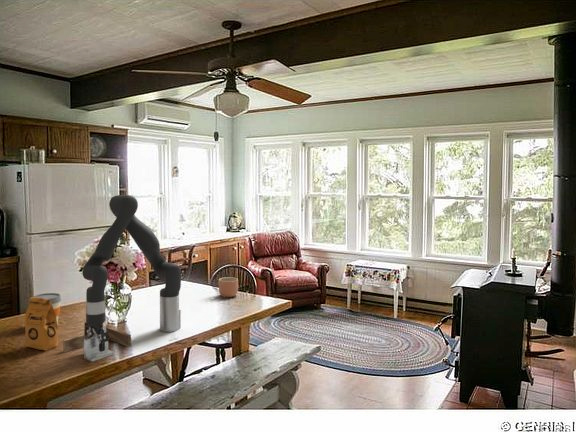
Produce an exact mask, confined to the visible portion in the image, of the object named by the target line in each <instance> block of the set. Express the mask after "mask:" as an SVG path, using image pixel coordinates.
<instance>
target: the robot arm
mask: <svg viewBox="0 0 576 432" xmlns="http://www.w3.org/2000/svg"><path fill="white" fill-rule="evenodd" d="M108 205H109V209H110V211H111V213H112V214H113V215H114V216H115V219H114V221H113V223H112V224H111V226H110V227H108V229H107V230H106V231H105V232H104V234H103V235H102V236H101V238H100V239H99V241H98V243H97V246H96V247H95V250H94V253H92V255H91V256H90V257H89V259H87V261H86V263H85V264H84V266H83V268H82V273H81V274H82V277H83V279H85V280H87V281H91V282H92V284H91V286H89V287H87V288H86V293H85V294H86V297H85V299H86V303H85V304H86V305H85V322H84V324H83V325H84V335H85V336H87V338H90V337H93V336H94V335H95V336H96V338H97V339H98V341H99V351H100V352H102V351H104V350H105V342H107V341H108V342H109V339H108V327H107V326H105V327H104V323H105V322H106V321H107V319H106V302H105V293H106V292H105V290H106V286H107V282H108V277H109V272H108V269H107V267H106V266H105V265H103V264H104V262H105V263H106V262H110V260H111V259H112V256H113V255H114V252H115V249H116V248H117V245H118V243H119V242H120V239H121V237H122V235H123V234H124V232H125V230H126V232H127V233H128V234H129V236H130V237H131V239H133V241H134V242H135V244H136V245H137V247H138V248H139V250H140V251H141V253H142V254H143V256H145V258H146V260H147V261H148V263H149V264H150V266H151V268H152V269H153V272H154V273H155V276H156V277H157V278H158V279H159V280H161V281H164V282H165V287H163V288H161V289H160V290H159V330H160V331H161V332H165V333H172V332H176V331H179V329H181V328H182V327H181V325H182V324H181V322H182V321H181V319H182V318H181V311H182V310H181V308H180V291H181V287H182V269H181V267H180V265H178V264H176V263H172V262H168V261H167V260H166V259H165V257H164V256H163V255H162V253H161V245H160V241H159V239H158V238H157V235H156V234H155V233H154V231H153V230H152V229H151V228H150V227H149V226H148V225H147V224H146V223H144V222H143V221H141V220H140V219H139V218H138V217H137V216H136V215H135V214H136V213H137V210H138V207H139V202H138V200H137V198H136V197H135V196H133V195H129V194H128V195H127V194H117V195H113V196H112V197H111V198H110V199H109V204H108ZM100 334H101V335H100ZM105 336H106V339H105ZM100 338H101V339H100Z"/></svg>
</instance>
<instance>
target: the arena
mask: <svg viewBox="0 0 576 432" xmlns="http://www.w3.org/2000/svg"><path fill="white" fill-rule="evenodd" d="M107 328H108V340H110V341H113V342H115V343H118V344H121V345H123V346H125V347H127V348H128V347H131V346H132V342H131V341H132V340H131V339H132V337H131V336H132V334H129V333H126V332H125V331H121V330H119V329H116V328H113V327H111V326H109V327H107ZM100 335H101V334H100ZM94 336H95V335H94ZM94 336H93V337H94ZM84 339H87V336H85V335H84V334H80V335H76V336H73V337H69V338H65V339H63V340H62V352H63V353H68V352H70V351H73V350H77V349H80V348H84Z"/></svg>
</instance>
